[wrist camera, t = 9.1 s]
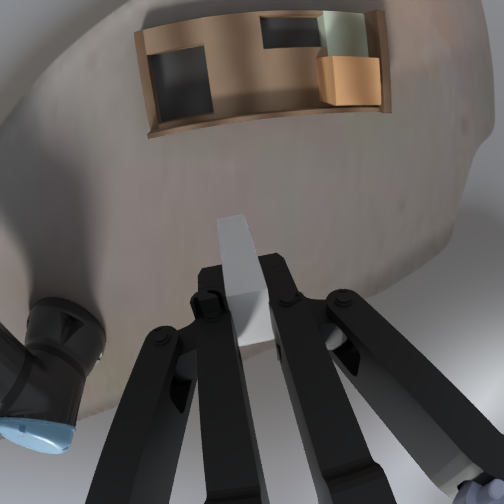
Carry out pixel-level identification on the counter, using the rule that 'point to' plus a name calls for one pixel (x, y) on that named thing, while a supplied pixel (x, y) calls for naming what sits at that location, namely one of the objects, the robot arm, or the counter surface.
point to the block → (349, 80)
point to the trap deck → (251, 66)
